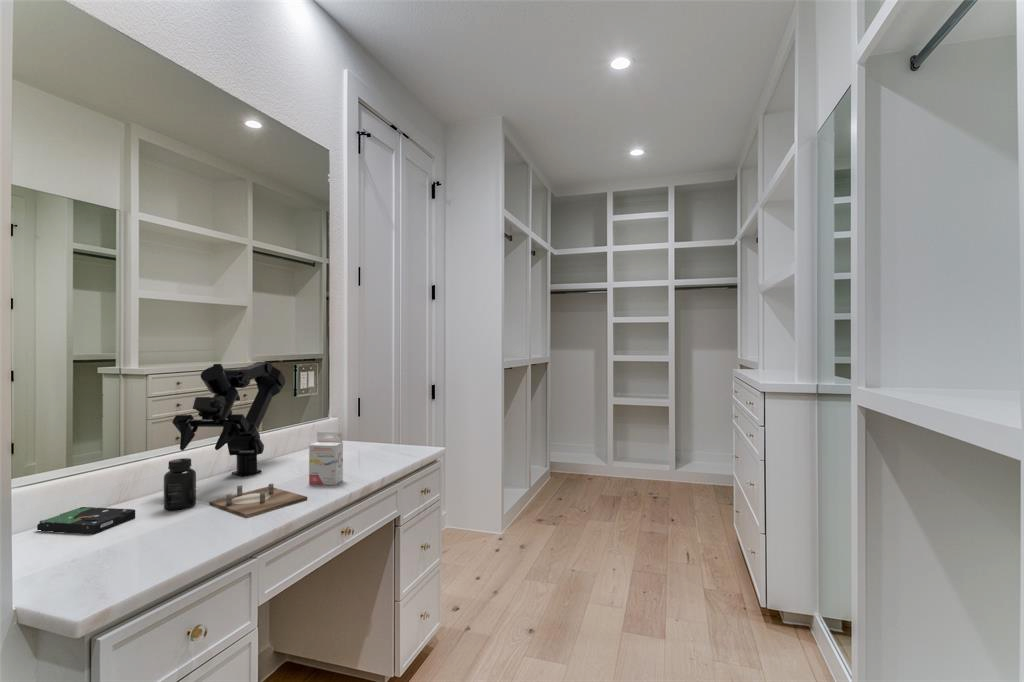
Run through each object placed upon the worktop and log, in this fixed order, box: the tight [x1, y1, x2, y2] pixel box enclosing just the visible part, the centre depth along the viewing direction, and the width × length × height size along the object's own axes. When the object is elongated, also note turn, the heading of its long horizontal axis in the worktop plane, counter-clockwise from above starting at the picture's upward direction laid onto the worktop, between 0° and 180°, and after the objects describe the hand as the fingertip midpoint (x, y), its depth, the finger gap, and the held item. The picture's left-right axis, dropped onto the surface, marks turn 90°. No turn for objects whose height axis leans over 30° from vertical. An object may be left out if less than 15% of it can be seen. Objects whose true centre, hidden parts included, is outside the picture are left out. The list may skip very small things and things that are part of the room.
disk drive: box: [36, 506, 136, 535], centre depth 113 cm, size 10×3×15 cm
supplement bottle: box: [163, 457, 197, 512], centre depth 124 cm, size 7×7×12 cm
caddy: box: [208, 483, 308, 519], centre depth 128 cm, size 18×16×3 cm
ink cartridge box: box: [308, 431, 344, 486], centre depth 146 cm, size 9×5×15 cm, turn 84°
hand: (198, 449), depth 132 cm, fingers open, 9 cm apart
